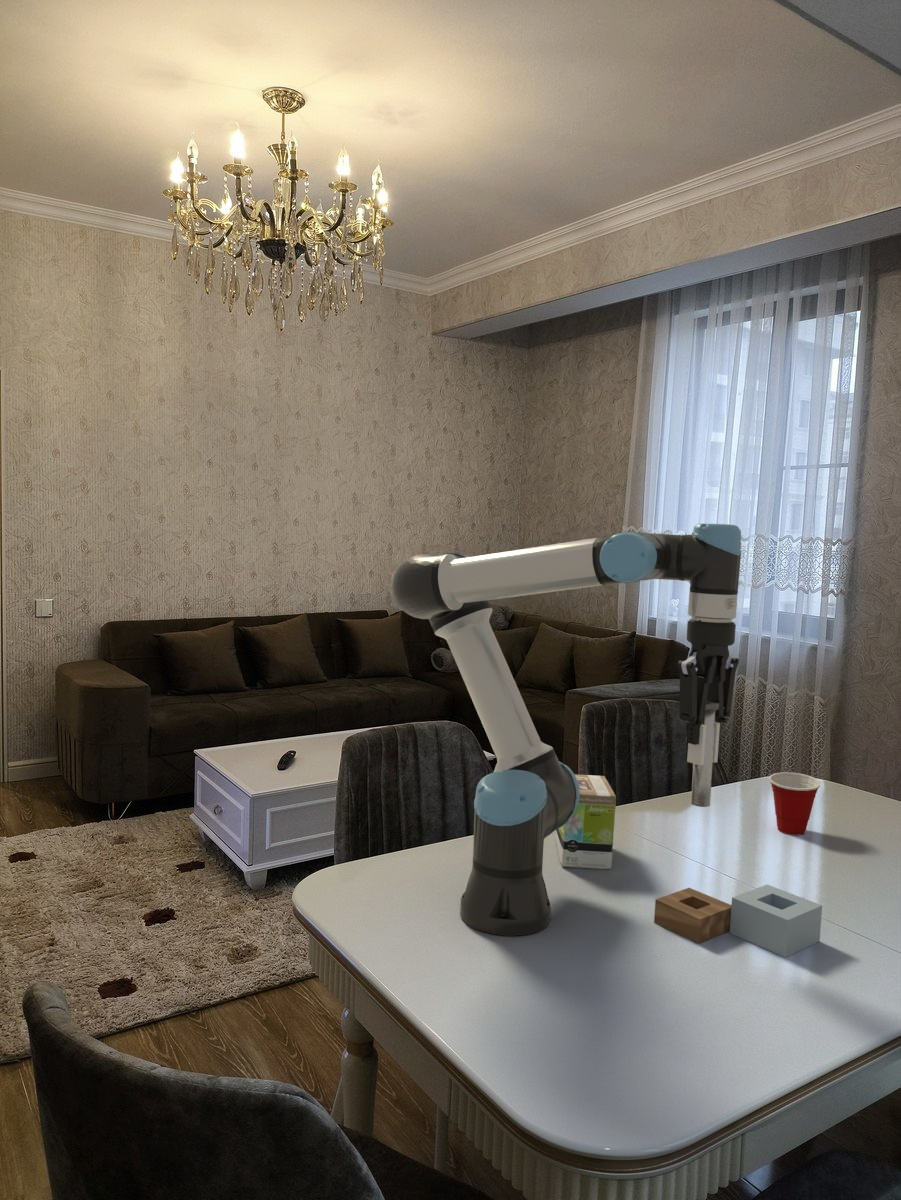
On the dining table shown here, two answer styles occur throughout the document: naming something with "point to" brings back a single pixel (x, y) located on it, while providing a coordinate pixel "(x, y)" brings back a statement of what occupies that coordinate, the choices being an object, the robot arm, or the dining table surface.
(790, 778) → the plastic cup
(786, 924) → the socket block
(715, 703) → the lock pin
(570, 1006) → the dining table surface
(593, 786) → the tea box
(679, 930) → the mount block
